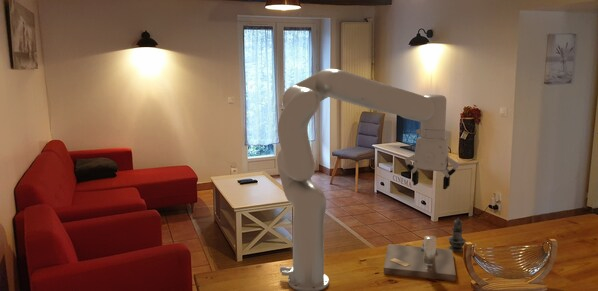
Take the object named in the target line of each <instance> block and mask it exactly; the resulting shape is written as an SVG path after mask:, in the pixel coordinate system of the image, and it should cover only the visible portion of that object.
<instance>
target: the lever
mask: <svg viewBox="0 0 598 291" xmlns="http://www.w3.org/2000/svg"><path fill="white" fill-rule="evenodd" d="M423 238H424V239H423V240H422V246H423V247H424V259H423V262H424V263H426V265H431V266H432V264H434V263H435V256H436V248H437V237H436V236H434V235H433V236H432V235H425V236H424V237H423Z"/></svg>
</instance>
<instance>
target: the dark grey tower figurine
mask: <svg viewBox="0 0 598 291" xmlns="http://www.w3.org/2000/svg"><path fill="white" fill-rule="evenodd" d="M463 231H464V229H463V221H462V220H460V217H457V219H455V220H454V221H453V228H452V236H451V237H448V241H449V245H451V246H449V247H448V249H449V250H452V252H453V253H463V252H464V251H463V248H464V247H463V246H465V244H466V239H465V238H464V237H463V234H462V233H463Z"/></svg>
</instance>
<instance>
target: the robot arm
mask: <svg viewBox="0 0 598 291" xmlns="http://www.w3.org/2000/svg"><path fill="white" fill-rule="evenodd" d="M327 98H331V99H334V100H338V101H342V102H346V103H348V104H352V105H355V106H358V107H361V108H364V109H368V110H373V111H376V112H383V113H387V114H392V115H395V116H396V115H397V116H400V117H401V118H403V119H407V120H412V121H415V122H419V123H420V128H419V129H416V130H415V134H418V135H419V137H417V139H416V141H415V142H416V143H415V149H414V154H413V155H411V156H407V157H406V158H404V161H405V164H406V166H407V168H408V169H409V171H410V173H411V174H412V175H411V182H412V183H413V186H417V185H418V184H419V176H420V175H419V171H418V170H424V171H432V172H441V173H442V174H443V175H444V177H443V180H442V181H443V182H442V184H443V186H442V189H443V190H447V189H448V188H449V187H450V183H451V181H450V180H451V176H452V175H453V174H454V173H455V172H457V170H458V168H459V167H460V163H459V162H457V161H455V160H454V159H452V158H450V156H449V146H448V144H449V143H448V140H447V138H446V118H447V117H446V116H447V98H446V96H444V95H443V94H426V95H421V94H418V93H415V92H412V91H408V90H405V89H401V88H399V87H397V86H392V85H389V84H387V83H384V82H380V81H377V80H374V79H370V78H367V77H364V76H362V75H358V74H355V73H352V72H349V71H346V70H342V69H338V68H337V69H336V68H326V69H322V70H320V71H318V72H316V73H314V74H313V75H310V76H308V77H307V78H304V79H302V80H301V81H299V82H297V83H295V84H293V85H291V86H290V87H288V88H287V89H286V90H285V91H284V93H283V95H282V106H283V107H284V108H283V109H282V112H281V114H280V116H279V119H278V122H277V123H278V125H277V134H278V139H279V145H280V150H279V152H278V154H277V156H276V166H277V170H278V173H279V177H280V182H281V186H282V189H283V193H284V195H285V197H286V200H287V201H288V203H289V204H290V205H291V206H292V207H293V209H294V210H293V213H294V214H293V218H292V219H293V220H292V266H283V265H281V266H280V268H279V272H280V273H281V276H284V277H285V276H286V277H288V279H287V282H288V283H287V284H288V286H289V287H290V288H292V289H293V290H295V291H322V290H324V289H326V288H327V287H328V286H329V284H330V279H329V276H328V275H326V274H325V216H326V211H327V210H326V209H327V198H326V195H325V192H324V191H323V189H321V187H319V186H318V185H317V184H316V183H314V182H313V181H312V177H313V175H314V173H315V170H316V163H315V158H314V155H313V150H312V147H311V144H310V138H309V132H308V129H309V128H308V127H309V124H310V121H311V119H312V118H313V117H314V115H315V114H316V113H317V112H318V110H319V108H320V102H322V101H325V99H327ZM412 161H413V164H412ZM449 165H452V166H453V167H452V168H451V169H449V168H448V167H449Z"/></svg>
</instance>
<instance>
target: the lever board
mask: <svg viewBox="0 0 598 291" xmlns="http://www.w3.org/2000/svg"><path fill="white" fill-rule="evenodd" d="M386 249H387V250H386V252H385V260H384V263H383V264H384V265H383V274H386V275H395V276H404V277H405V276H406V277H413V278H414V277H415V278H422V279H423V278H424V279H434V280H443V281H452V282H456V278H457V277H456V276H457V274H456V267H455V260H454V256H453V253H454V252H453V251H452V250H450V249H449V248H448V249H447V248H438V247H436V256H435V263H434V264H432V266H431V265H426V263H424V262H423V259H424V247H423V245H422V246H416V245H415V246H412V245H403V244H402V245H400V244H391V243H389V244H387V248H386Z"/></svg>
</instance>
